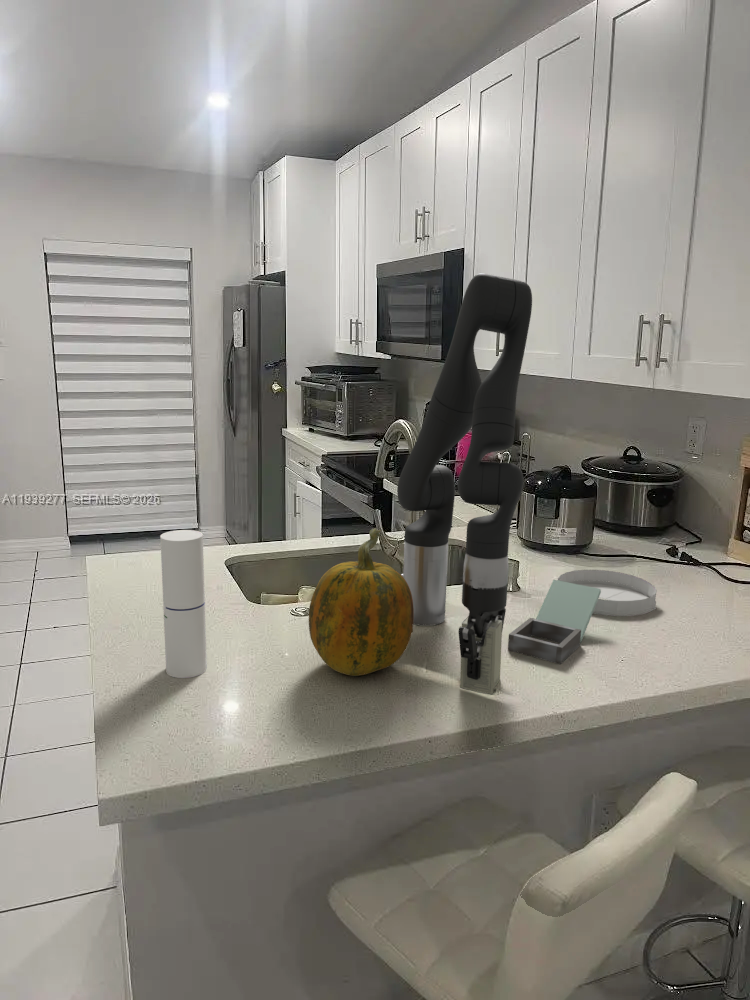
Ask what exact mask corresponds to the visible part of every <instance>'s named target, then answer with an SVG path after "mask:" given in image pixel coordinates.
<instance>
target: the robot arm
mask: <svg viewBox="0 0 750 1000" xmlns="http://www.w3.org/2000/svg"><path fill="white" fill-rule="evenodd" d="M532 308H533V293H532V288H531V287H530V286H529V284H528V283H527V282H525V281H522V280H518V279H514V278H509V277H504V276H500V275H494V274H490V273H481V272H480V273H477V274H475V275H474V276H473V277H472V278H471V279H470V281H469V283H468V285H467V288H466V290H465V292H464V295H463V298H462V302H461V306H460V309H459V313H458V316H457V321H456V324H455V328H454V331H453V336H452V339H451V341H450V346H449V349H448V352H447V355H446V358H445V361H444V364H443V366H442V369H441V372H440V374H439V376H438V379H437V381H436V385H435V387H434V390H433V392H432V395H431V398H430V401H429V404H428V407H427V411H426V414H425V417H424V419H423V422H422V425H421V428H420V430H419V434H418V436H417V438H416V441H415V443H414V445H413V446H412V449H411V451H410V454H409V455H408V458H407V459H406V461H405V464H404V466H403V468H402V470H401V472H400V475H399V478H398V483H397V487H396V489H397V490H396V491H397V500H398V503H399V505H400V507H402V508H403V509H404V510H405V511H409V512H424V513H423V514H422V515H421V516H420V517H419V518H417V520H415V521H414V522H411V523H409V524H408V525H407V526H406V527H405V530H404V539H403V540H404V543H403V546H404V547H403V571H402V572H403V573H401V574H400V575H402V577H403V578H404V579H405V580H406V582H407V584H408V586H409V588H410V591H411V594H412V599H413V609H414V620H413V625H416V626H426V627H427V626H434V625H435V626H436V625H439V624H442V623H443V622H444V621H445V620H446V603H447V600H446V599H447V582H448V581H447V579H448V560H449V559H448V556H449V536H450V533H451V531H452V527H453V516H454V515H453V514H454V506H455V496H456V485H455V478H454V475H453V472H452V471H451V469H450V468H449V467H447V466H446V465H443V464H438V462H439V461H440V460H441V459H442V457H444V456H445V455H446V454H447V453H448V452H449V451H450V450H451V449H452V448H453V447H455V446H456V444H458V443H459V442H460V441H461V440H463V438H464V437H465V436H466V435H467V434H468V433H469V431H471V436H470V443H469V446H468V447H469V448H468V451H467V454H466V457H465V460H464V463H463V466H462V467H461V471H460V472H459V476H458V480H457V492H458V495H459V497H460V499H461V500H462V501H463V502H464V503H466V504H470V505H482V506H483V505H484V506H486V505H487V506H499V507H498V509H497V510H496V511H495V512H494V513H492V514H488V515H483V516H478V517H473V518H471V519H470V520H469V521H468V523H467V527H466V537H465V556H464V560H463V566H462V567H463V568H462V569H463V570H462V573H463V574H462V589H461V590H462V591H461V604H462V605H463V606H464V608H466V609H467V610H468V611H469V613H468V616H469V617H468V616H467V617H468V621H467V623H468V625H467V626H466V627H462V626H459V627H458V640H459V652H460V658H461V657H463V658H468V661H467V677H468V678H471V679H475V680H478V679H479V678H480V671H481V655H482V650H483V647H485V646H486V639H487V630H488V629H489V627H491V625H492V622H493V623H496V622H497V621H498V620H502V631H503V629H504V624H505V617H506V612H507V610H506V606H507V600H508V598H507V597H508V584H509V583H508V582H509V545H510V544H509V542H510V540H509V539H510V531H511V525H512V522H513V517H514V514H515V511H516V508H517V506H518V503H519V500H520V497H521V496H522V492H523V489H524V483H525V481H524V473H523V471H522V470H521V468H520V467H519V466H518V465H517V464H515V463H513V462H497V461H495V462H494V461H482V459H483V458H484V457H486V455H488V454H491V453H495V452H502V451H506V450H508V449H510V448H511V447H513V444H514V441H515V434H516V433H515V431H516V430H515V429H516V428H515V427H516V411H517V410H516V408H517V396H518V394H517V392H518V386H519V381H520V375H521V370H522V367H523V362H524V361H523V360H524V355H525V352H526V351H525V350H526V347H527V341H528V340H527V339H528V333H529V329H530V323H531V322H530V321H531V317H532V310H533V309H532ZM480 330H482V331H486V332H490V333H496V334H502V335H504V343H503V349H502V352H501V354H500V356H499V358H498V359H497V361H496V363H495V364H494V366H493V367H492V368H491V370H490V371H489V372H488V374H487V375H486V376H485V378H484V379H483V380H482V379H481V376H480V375H481V374H480V371H479V369H478V366H477V362H476V356H475V341H476V337H477V334H478V332H479V331H480ZM483 628H484V630H483ZM475 637H477V638H482V640H481V641H477V640H476V639H475ZM476 645H477V646H478V648H477V651H476Z"/></svg>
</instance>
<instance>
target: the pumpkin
mask: <svg viewBox="0 0 750 1000" xmlns="http://www.w3.org/2000/svg"><path fill="white" fill-rule="evenodd" d="M381 531H382V529H377V527H374V528H372V529H370V530H369V533H368V534H369V538H370V539H368V540H367V541H364V542H363V543H362V544H360V545H359V547H358V551H357V560H356V561H345V562H341V563H338V564H336V565H334V566H332V567H331V568H329V569H328V570H327V571H325V573H324V574H323V575H322V576H321V578H320V579H319V581H318V583H317V585H316V587H315V589H314V591H313V594H312V596H311V599H310V603H309V609H308V630H309V637H310V640H311V643H312V645H313V647H314V649H315V651H316V652H317V654H318V655H319V657H320V658H321V660H322V661H323V662H324V663H325V664H326V665H327V667H329V668H330V669H332V670H334V671H336V672H338V673H340V674H343V675H347V676H355V677H356V676H357V677H359V676H364V675H369V674H372V673H374V672H377V671H380V670H383V669H386V668H389V667H391V666H393V665H394V664H395V663H396V662H398V660H399V659H400V658H401V657H402V656H403V654H404V653H405V651H406V649H407V648H408V646H409V644H410V641H411V637H412V634H413V633H414V632H413V631H414V624H413V620H414V609H413V599H412V594H411V591H410V588H409V586H408V584H407V582H406V580H405V579H404V578H403V577H402V575H401V574H400V572H398V571H397V570H396V569H394V568H393V567H392V566H390V565H388V564H385V563H380V562H377V561H373V558H372V557H373V556H372V555H371V554H370V551H371V550H372V549H373V548H374V547H375V546H376V544H377V542H378V540H379V537H380V536H381V534H380V532H381Z"/></svg>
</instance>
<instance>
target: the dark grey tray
mask: <svg viewBox="0 0 750 1000" xmlns="http://www.w3.org/2000/svg"><path fill="white" fill-rule="evenodd" d="M532 636H533V637H532ZM534 637H536V638H534ZM537 638H538V639H537ZM539 638H540V639H539ZM542 639H545V640H548V641H545V640H542ZM580 639H581V630H580V629H576V628H572V627H567V626H563V625H559V624H555V623H550V622H546V621H542V620H538V619H536V618H533V617H529V618H528V619H527V620H525V621H524V622H523V623H522V624H520V625H519V626H518V627H516V628H515V629H514V630H512V631H511V632H510V633H508V640H507V651H510V652H513V653H517V654H521V655H525V656H529V657H533V658H536V659H539V660H544V661H547V662H550V663H555V664H557V665H558V664H559V665H562V664H563V662H566V660H567V659H568V658H569V657H570V656H571V655H572V654H573V653H574V652H575V651H576V650H577V649H578V648H579V647H581V643H580ZM550 641H552V642H550ZM553 642H556V643H553ZM558 643H559V644H558Z"/></svg>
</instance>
